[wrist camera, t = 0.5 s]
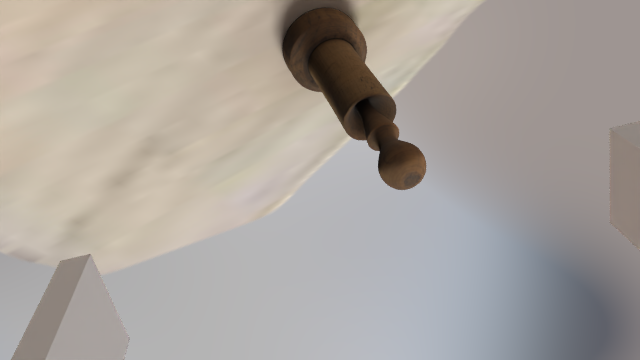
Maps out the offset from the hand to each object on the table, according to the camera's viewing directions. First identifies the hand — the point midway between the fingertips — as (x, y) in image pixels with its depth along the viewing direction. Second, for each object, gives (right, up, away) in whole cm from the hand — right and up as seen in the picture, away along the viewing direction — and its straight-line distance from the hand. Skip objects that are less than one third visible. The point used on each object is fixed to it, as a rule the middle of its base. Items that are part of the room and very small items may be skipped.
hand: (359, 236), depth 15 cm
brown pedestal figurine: (-1, +13, +36) cm, 38 cm away
